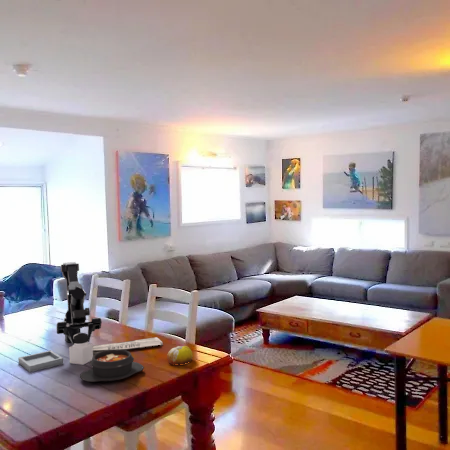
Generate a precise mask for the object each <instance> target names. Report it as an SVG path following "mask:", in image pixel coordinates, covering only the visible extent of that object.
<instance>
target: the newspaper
mask: <svg viewBox="0 0 450 450" xmlns="http://www.w3.org/2000/svg"><path fill="white" fill-rule="evenodd" d="M158 345H160V346H163V345H164V344H163V341H162V340H161V339H160V338H158V337H149V338H141V339H136V340H135V339H134V340H129V341H121V342H114V343H105V344H98V345H93V356H94V355H95V354H97V353H99V352H103V351H108V350H126V351H130V350H137V349H145V347H146V348H152V346H153V347H157V346H158ZM158 347H159V346H158Z"/></svg>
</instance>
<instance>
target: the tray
mask: <svg viewBox="0 0 450 450" xmlns="http://www.w3.org/2000/svg"><path fill="white" fill-rule="evenodd" d="M17 361H18V364H19V365H20V366H21V367H23V368H24V369H25V370H27V372H29V373H33V372H36V371H40V370H44V369H48V368H52V367H56V366H60V365H64V357H62V356H61V355H59V354H58V353H56V352H54V351H52V350H51V349H49V350H46V351H42V352H37V353H32V354H29V355H25V356H20V357H18V360H17Z"/></svg>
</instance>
